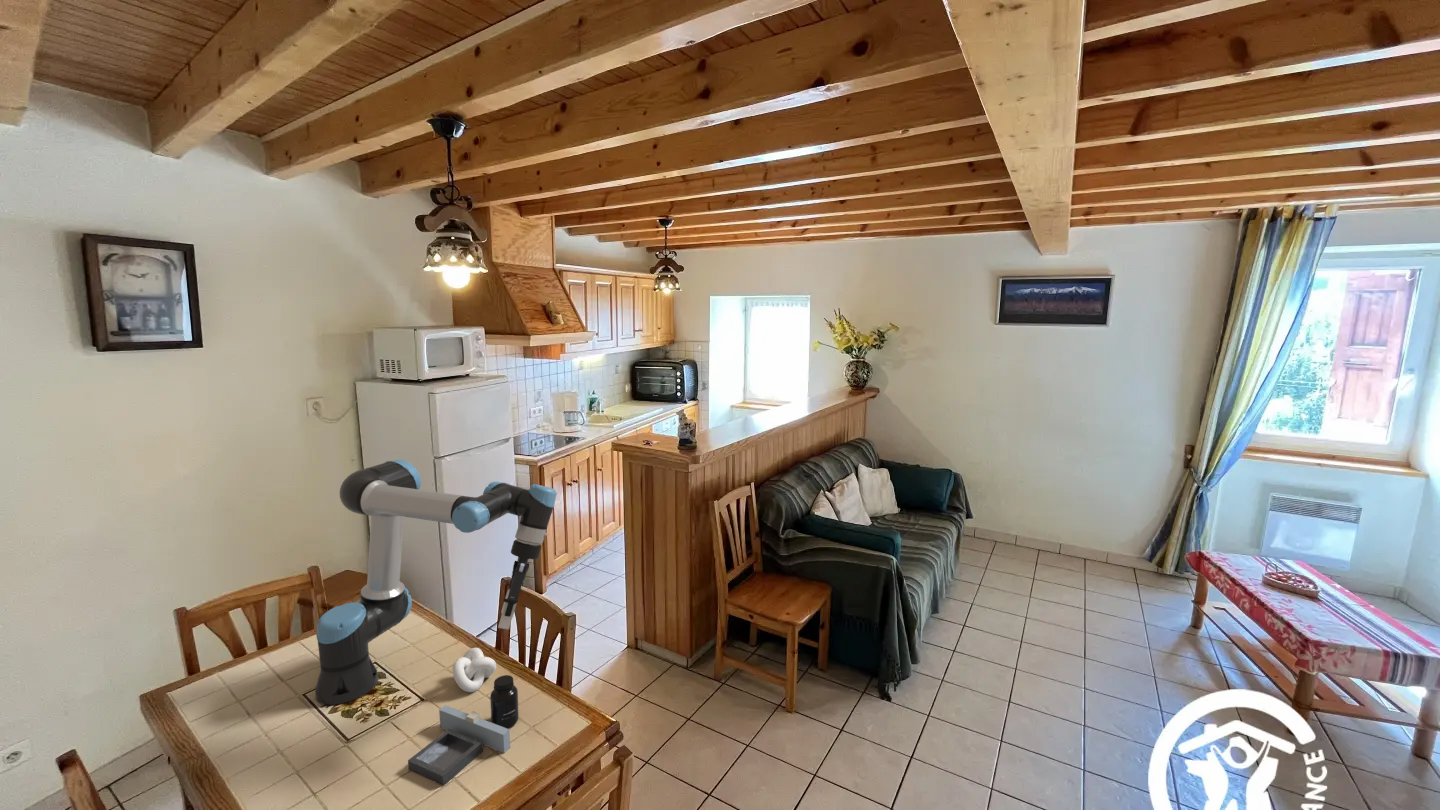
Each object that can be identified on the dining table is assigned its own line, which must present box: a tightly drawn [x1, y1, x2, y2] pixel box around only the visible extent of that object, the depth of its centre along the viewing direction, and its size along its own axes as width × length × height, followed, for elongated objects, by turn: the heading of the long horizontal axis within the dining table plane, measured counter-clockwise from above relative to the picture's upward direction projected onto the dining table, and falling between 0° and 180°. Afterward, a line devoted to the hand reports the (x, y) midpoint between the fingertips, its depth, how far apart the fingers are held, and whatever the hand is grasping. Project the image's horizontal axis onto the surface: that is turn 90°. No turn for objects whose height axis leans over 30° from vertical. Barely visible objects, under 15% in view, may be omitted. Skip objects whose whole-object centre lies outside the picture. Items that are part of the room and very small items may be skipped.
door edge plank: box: [438, 704, 511, 754], centre depth 143 cm, size 22×2×6 cm, turn 66°
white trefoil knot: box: [452, 647, 497, 693], centre depth 165 cm, size 11×12×9 cm
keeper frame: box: [407, 729, 484, 787], centre depth 136 cm, size 12×12×2 cm
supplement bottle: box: [489, 674, 519, 729], centre depth 149 cm, size 7×7×12 cm
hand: (504, 620), depth 150 cm, fingers open, 13 cm apart
